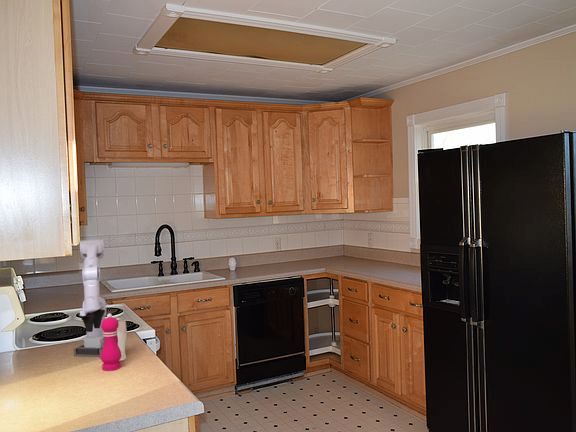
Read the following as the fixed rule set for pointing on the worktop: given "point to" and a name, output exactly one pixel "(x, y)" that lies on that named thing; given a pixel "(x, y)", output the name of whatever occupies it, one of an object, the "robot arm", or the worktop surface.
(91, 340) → the panel
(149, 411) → the worktop surface
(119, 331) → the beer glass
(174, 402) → the worktop surface
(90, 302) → the robot arm
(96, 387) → the worktop surface
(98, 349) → the rack
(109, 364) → the pepper mill
